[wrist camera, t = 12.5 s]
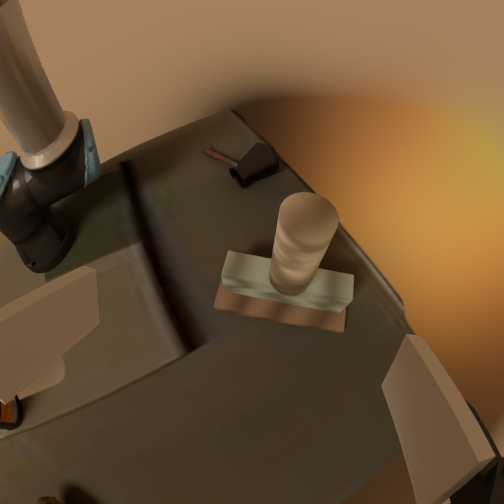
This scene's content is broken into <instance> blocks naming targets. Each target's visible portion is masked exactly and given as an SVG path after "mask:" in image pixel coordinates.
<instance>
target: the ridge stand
mask: <svg viewBox="0 0 504 504" xmlns="http://www.w3.org/2000/svg"><path fill="white" fill-rule="evenodd" d="M270 264H271V259H269V258H264V257H259V256H254V255H249V254H244V253H239V252H234V251H229V250H228V253H227V257H226V260H225V264H224V267H223V270H222V274H221V276H222V278H221V281H220V285H219V288H218V292H217V295H216V299H215V302H214V306H213V307H214V309H219V310H223V311H228V312H232V313H237V314H241V315H246V316H251V317H255V318H260V319H265V320H270V321H276V322H281V323H286V324H291V325H297V326H303V327H308V328H314V329H320V330H327V331H333V332H340V333H342V332H344V326H345V315H346V306H347V305H348V304H349V303H350V302H351V301H352V300H353V285H354V275H351V274H346V273H341V272H336V271H331V270H326V269H320V268H317V270H316V272H315V274H314V276H313V278H312V280H311V282H310V284H309V286H308V288H307V289H306V290H305V291H304V292H302V293H301V294H298V295H294V296H288V295H284V294H281V293H279V292H278V291H276V290H275V289H274V288H273V286H272V285H271V283H270V280H269V270H270Z"/></svg>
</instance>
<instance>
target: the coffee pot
mask: <svg viewBox="0 0 504 504" xmlns="http://www.w3.org/2000/svg"><path fill="white" fill-rule="evenodd" d="M208 146H211V147H212V145H208ZM208 146H207V147H208ZM207 147H206V148H204V149H203V153H205V154H206V155H207V156H210V157H212V158H214V159H216V160H221V161H224V162H225V163H227V164H229V165H232V166H234V167H232V168H230V169H229V171H230V174H231V176H232V178H233V179H234V181H235V182H236V183H237V184H239V185H240V186H241V187H242V188H245V186H246V184H247V183H248V182H250V181H253V180H256V179H259V178H261V177H264V176H267V175H270V174H273V173H275V172H277V171H278V169H279V162H278V159H277V157H276V155H275V154H274V152H273V151H272V150H271V149H270V148H269V147H268V146H267V145H265V144H263V143H256V144H255V145H254V146H253V147H252V148H251V150H250V151H249V152H248V153H247V154H246V155H245V157H244V158H243V159H242V160H241V161H240V163H239V164H238V163H236V162H234V161H233V160H231V159H229V158H226V157H224V156H222V155H221V154H220V153H218V152H215V151H214V150H211V149H210V148H207ZM212 149H213V147H212Z"/></svg>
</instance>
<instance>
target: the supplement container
mask: <svg viewBox="0 0 504 504" xmlns="http://www.w3.org/2000/svg"><path fill="white" fill-rule="evenodd" d="M20 420H21V406H20V401H19V398H18V396H17V395H16V396H15V397H14V398H12V399H11V400H10V401H9V402H8V403H7V404H6V405H5V404H4V403H2V402H1V401H0V429H7V430H13V429H15V428H16V427H17V426H18V425H19V423H20Z"/></svg>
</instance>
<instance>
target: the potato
mask: <svg viewBox="0 0 504 504" xmlns="http://www.w3.org/2000/svg"><path fill="white" fill-rule="evenodd" d="M36 504H64V503H62V502H60V501H59V500H57V499H56V498H55V497H52V496H51V497H49V496H46V497H40V498H39V499H38V500H37V502H36Z"/></svg>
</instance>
